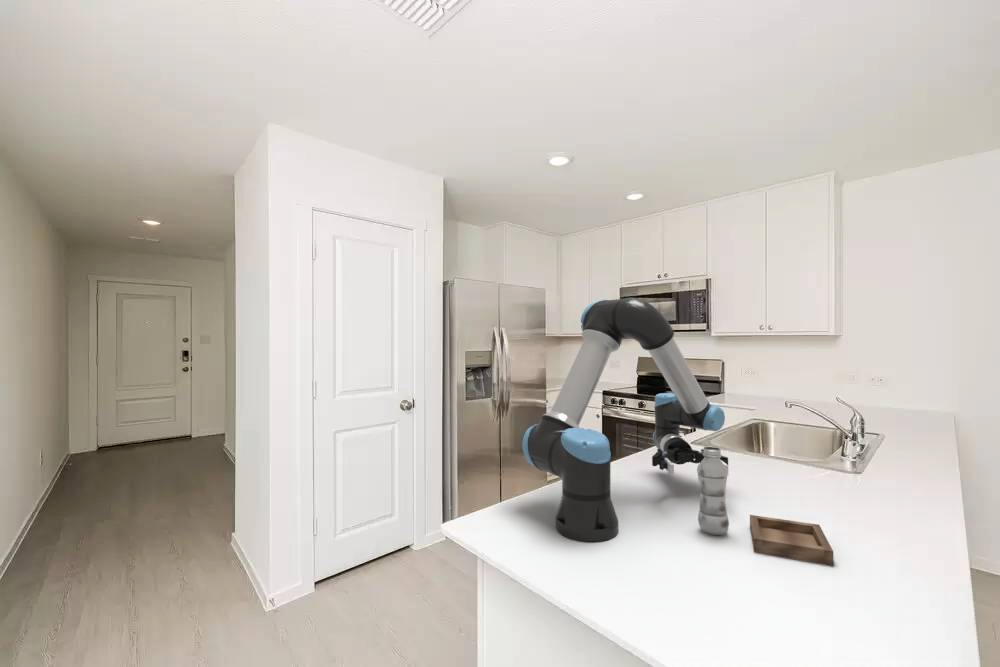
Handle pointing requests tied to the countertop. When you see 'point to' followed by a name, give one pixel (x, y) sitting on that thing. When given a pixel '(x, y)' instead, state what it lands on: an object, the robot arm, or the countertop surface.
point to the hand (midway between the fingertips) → (699, 470)
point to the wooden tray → (790, 540)
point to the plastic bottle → (712, 492)
